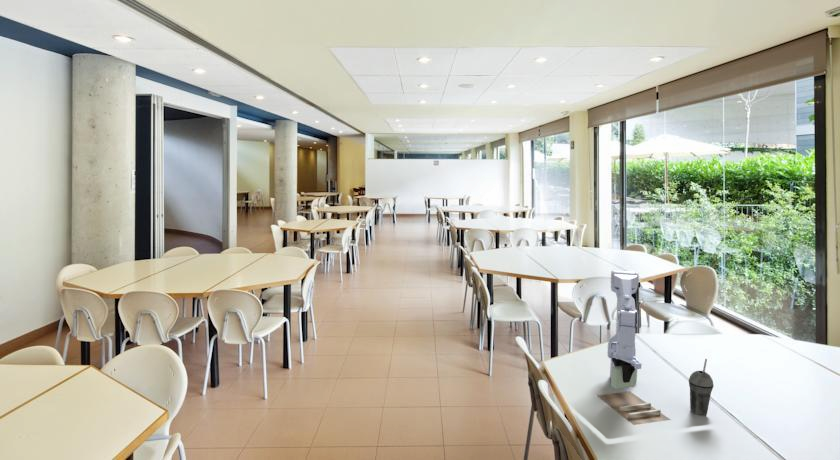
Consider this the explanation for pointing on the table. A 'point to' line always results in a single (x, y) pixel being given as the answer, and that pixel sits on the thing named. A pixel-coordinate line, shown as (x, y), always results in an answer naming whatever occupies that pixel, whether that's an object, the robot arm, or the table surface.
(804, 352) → the table surface
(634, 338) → the robot arm
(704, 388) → the beverage cup
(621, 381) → the door panel
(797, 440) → the table surface
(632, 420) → the track base
